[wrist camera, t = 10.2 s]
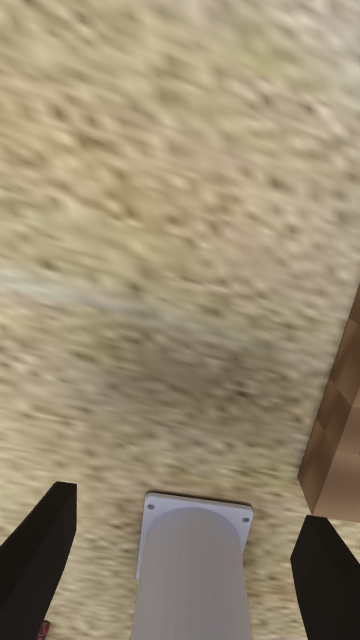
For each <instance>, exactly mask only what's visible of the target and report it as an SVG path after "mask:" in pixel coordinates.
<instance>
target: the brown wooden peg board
mask: <svg viewBox="0 0 360 640" xmlns="http://www.w3.org/2000/svg"><path fill="white" fill-rule="evenodd" d="M298 480H299V482H300V485H301V488H302V490H303V493H304V496H305V498H306V501H307V503H308V506H309V509H310V511H311V514H312V516H319V517H326V518H329V519H337V520H344V521H351V522H359V523H360V285H359V288H358V291H357V295H356V298H355V301H354V304H353V307H352V310H351V313H350V316H349V319H348V322H347V325H346V329H345V332H344V335H343V338H342V341H341V344H340V347H339V350H338V353H337V356H336V359H335V363H334V366H333V369H332V372H331V375H330V378H329V381H328V384H327V387H326V390H325V393H324V397H323V400H322V403H321V406H320V409H319V412H318V415H317V418H316V421H315V424H314V427H313V431H312V434H311V437H310V440H309V443H308V446H307V449H306V452H305V455H304V458H303V461H302V465H301V468H300V471H299V474H298Z"/></svg>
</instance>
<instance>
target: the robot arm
mask: <svg viewBox="0 0 360 640" xmlns="http://www.w3.org/2000/svg"><path fill="white" fill-rule="evenodd" d="M150 504H152V505H150ZM253 516H254V512H253V509H252V508H251V507H250V506H246V505H239V504H232V503H225V502H217V501H210V500H203V499H196V498H188V497H181V496H174V495H166V494H159V493H148V494H147V495H146V497H145V503H144V512H143V521H142V529H141V538H140V546H139V555H138V564H137V572H136V580H137V581H138V582H139V584H138V590H137V597H136V603H135V609H134V616H133V622H132V629H131V635H130V640H253V634H252V627H251V619H250V612H249V604H248V597H247V589H246V582H245V574H244V567H243V559H242V556H243V552H244V548H245V545H246V541H247V538H248V534H249V530H250V527H251V523H252V520H253ZM244 517H246V518H244ZM76 518H77V484H73V483H66V482H59V481H57V482H56V483H54V484H53V485H52V487H51V488H50V489H49V490H48V492H47V493H46V494H45V495H44V497H43V498H42V499H41V500H40V502H39V503H38V504H37V505H36V506H35V508H34V509H33V510H32V511H31V512H30V513H29V515H28V516H27V517H26V518H25V519H24V520H23V522H22V523H21V524H20V525H19V526H18V527H17V528H16V529H15V531H14V532H13V533H12V534H11V535H10V536H9V537H8V538H7V539H6V540H5V542H4V543H3V544H2V545H1V546H0V640H36V637H37V635H38V632H39V630H40V627H41V625H42V622H43V620H44V618H45V615H46V613H47V610H48V608H49V605H50V603H51V600H52V598H53V596H54V593H55V591H56V588H57V586H58V583H59V581H60V578H61V576H62V573H63V571H64V568H65V565H66V562H67V559H68V555H69V552H70V549H71V546H72V543H73V539H74V536H75V533H76ZM290 560H291V566H292V572H293V578H294V584H295V590H296V595H297V600H298V604H299V608H300V612H301V616H302V619H303V623H304V627H305V630H306V634H307V638H308V640H360V564H359V562H358V561H357V560H356V558H355V557H354V555H353V554H352V553H351V551H350V550H349V548H348V547H347V546H346V544H345V543H344V541H343V540H342V539H341V537H340V536H339V534H338V533H337V532H336V530H335V529H334V527H333V526H332V525H331V523H330V522H329V521H328V519H327V518H326V517H319V516H312V515H306V518H305V521H304V523H303V526H302V529H301V531H300V534H299V536H298V539H297V542H296V544H295V547H294V550H293V552H292V555H291V558H290Z"/></svg>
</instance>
